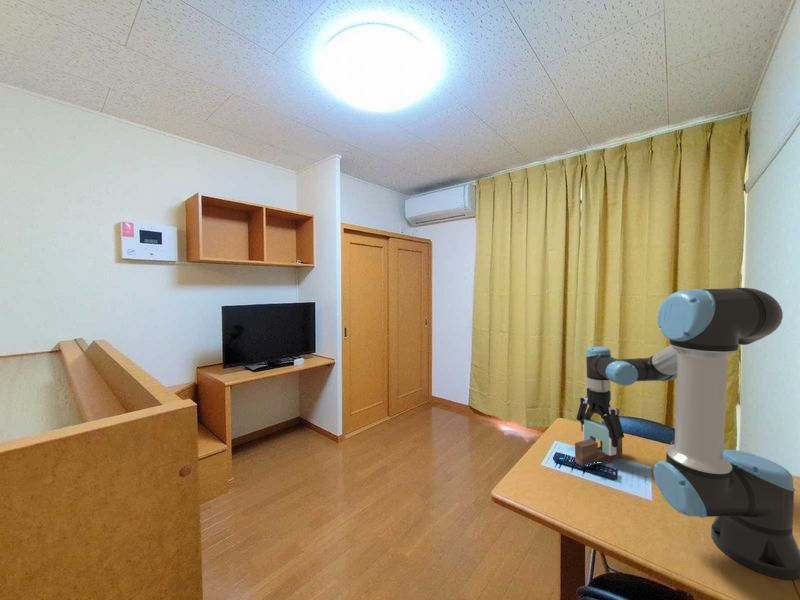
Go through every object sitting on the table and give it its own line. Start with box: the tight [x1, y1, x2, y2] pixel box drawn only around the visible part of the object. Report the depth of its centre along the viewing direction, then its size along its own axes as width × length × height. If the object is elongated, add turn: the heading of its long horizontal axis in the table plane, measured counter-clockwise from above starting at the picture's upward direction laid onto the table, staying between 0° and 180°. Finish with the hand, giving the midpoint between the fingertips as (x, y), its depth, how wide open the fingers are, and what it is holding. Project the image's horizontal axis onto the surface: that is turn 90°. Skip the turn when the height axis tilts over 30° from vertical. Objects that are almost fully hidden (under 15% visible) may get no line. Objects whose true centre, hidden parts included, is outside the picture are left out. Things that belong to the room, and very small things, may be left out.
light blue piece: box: [584, 418, 611, 455], centre depth 119 cm, size 10×3×9 cm, turn 19°
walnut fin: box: [574, 438, 623, 466], centre depth 119 cm, size 3×20×8 cm, turn 109°
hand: (598, 447), depth 119 cm, fingers closed on light blue piece, 10 cm apart
